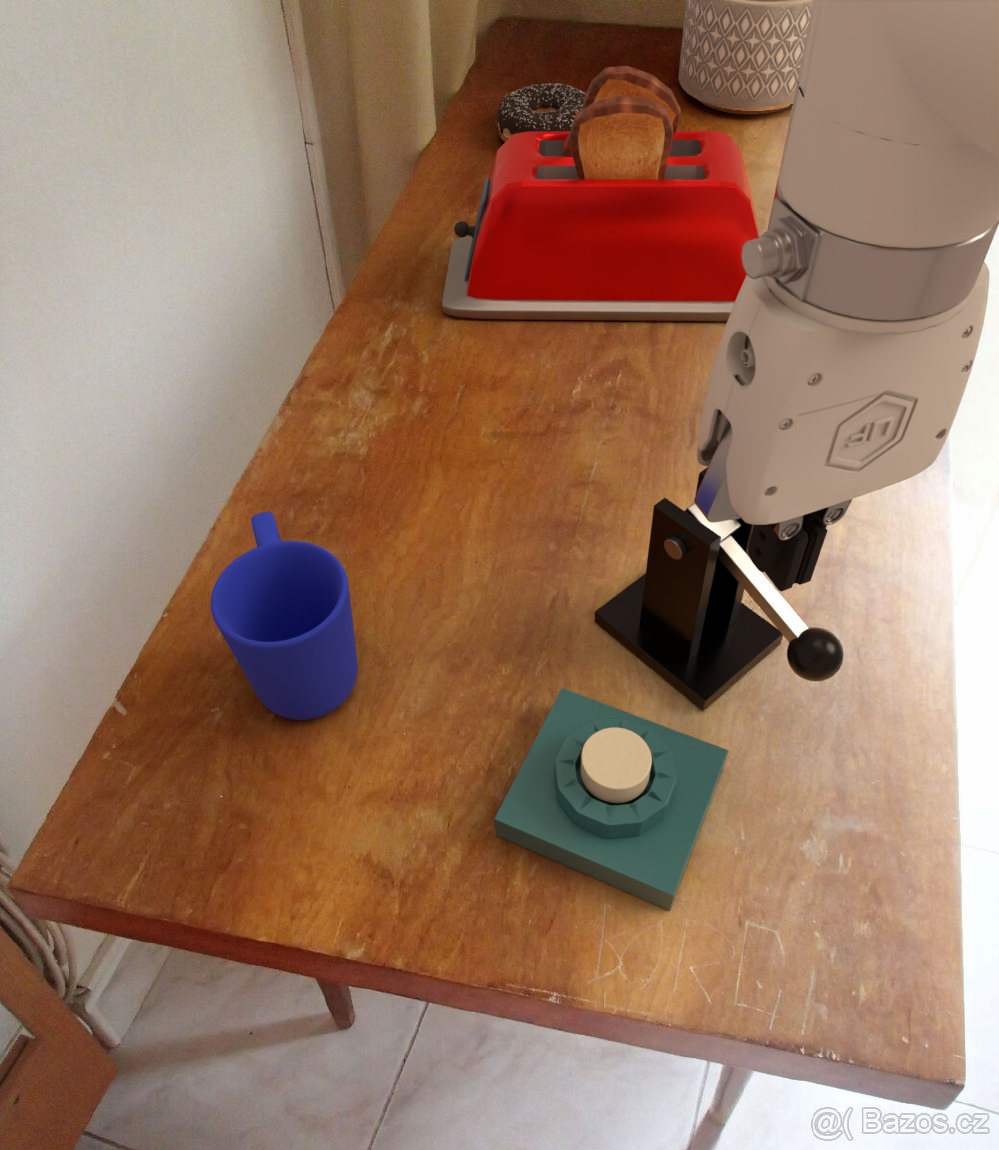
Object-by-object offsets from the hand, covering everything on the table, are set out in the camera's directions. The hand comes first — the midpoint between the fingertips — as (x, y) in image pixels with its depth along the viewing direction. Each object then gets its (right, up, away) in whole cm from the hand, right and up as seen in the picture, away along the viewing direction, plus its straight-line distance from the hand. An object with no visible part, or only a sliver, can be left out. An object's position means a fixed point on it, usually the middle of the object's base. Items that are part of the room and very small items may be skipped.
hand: (778, 566), depth 49 cm
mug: (-27, -6, +18) cm, 34 cm away
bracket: (-1, -4, +19) cm, 19 cm away
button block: (-7, -14, +11) cm, 19 cm away
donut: (-8, +51, +66) cm, 83 cm away
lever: (+1, -2, +11) cm, 11 cm away
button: (-7, -12, +8) cm, 16 cm away
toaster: (-3, +28, +46) cm, 54 cm away
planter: (+16, +58, +71) cm, 93 cm away
